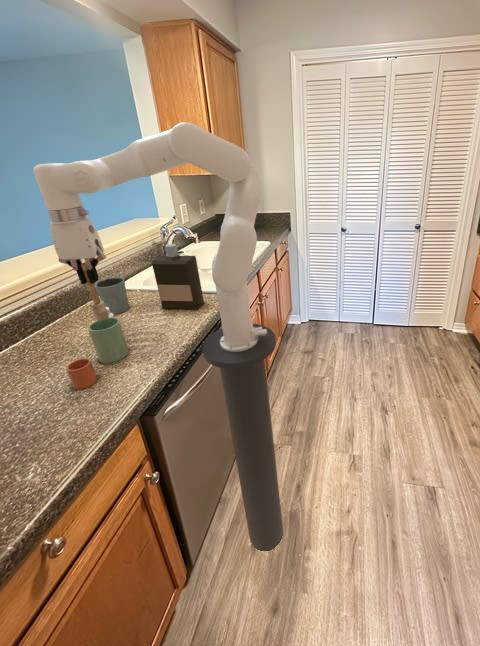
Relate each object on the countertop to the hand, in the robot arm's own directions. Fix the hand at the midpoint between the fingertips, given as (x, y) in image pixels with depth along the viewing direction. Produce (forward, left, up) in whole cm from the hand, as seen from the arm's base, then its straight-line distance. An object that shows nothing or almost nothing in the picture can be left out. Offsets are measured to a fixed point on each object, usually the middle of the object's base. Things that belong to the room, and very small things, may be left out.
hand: (90, 281), depth 89 cm
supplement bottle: (+5, -15, -25) cm, 29 cm away
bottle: (-17, -31, -25) cm, 43 cm away
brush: (0, 0, -12) cm, 12 cm away
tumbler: (0, -1, -25) cm, 25 cm away
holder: (+4, +11, -25) cm, 27 cm away
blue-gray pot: (+8, -36, -25) cm, 44 cm away
